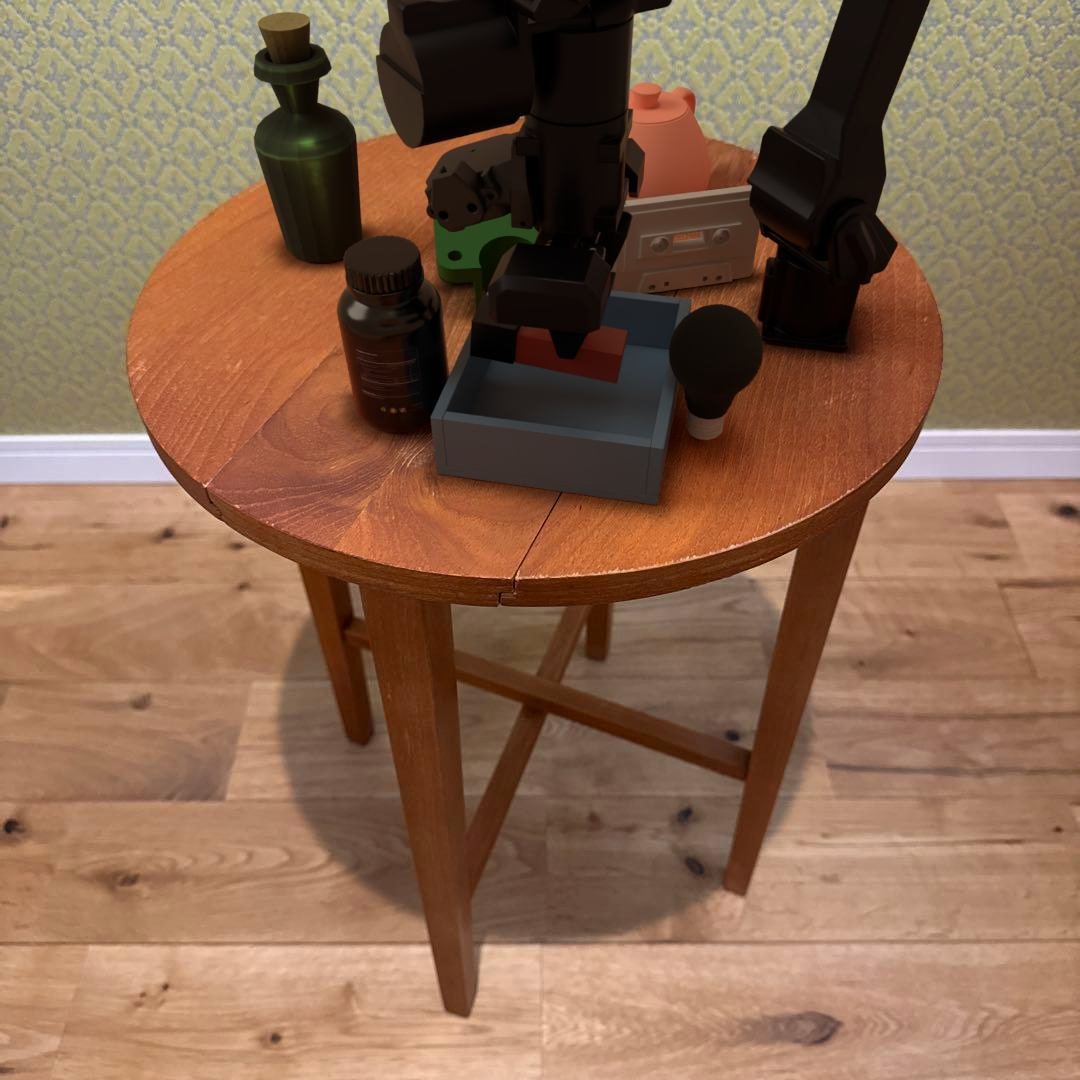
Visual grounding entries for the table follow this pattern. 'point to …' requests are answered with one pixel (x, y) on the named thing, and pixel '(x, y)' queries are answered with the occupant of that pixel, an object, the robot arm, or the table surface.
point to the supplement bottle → (392, 334)
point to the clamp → (476, 251)
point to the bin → (568, 414)
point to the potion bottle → (306, 146)
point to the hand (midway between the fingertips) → (571, 342)
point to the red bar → (546, 347)
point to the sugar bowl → (668, 141)
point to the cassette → (687, 241)
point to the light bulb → (714, 363)
